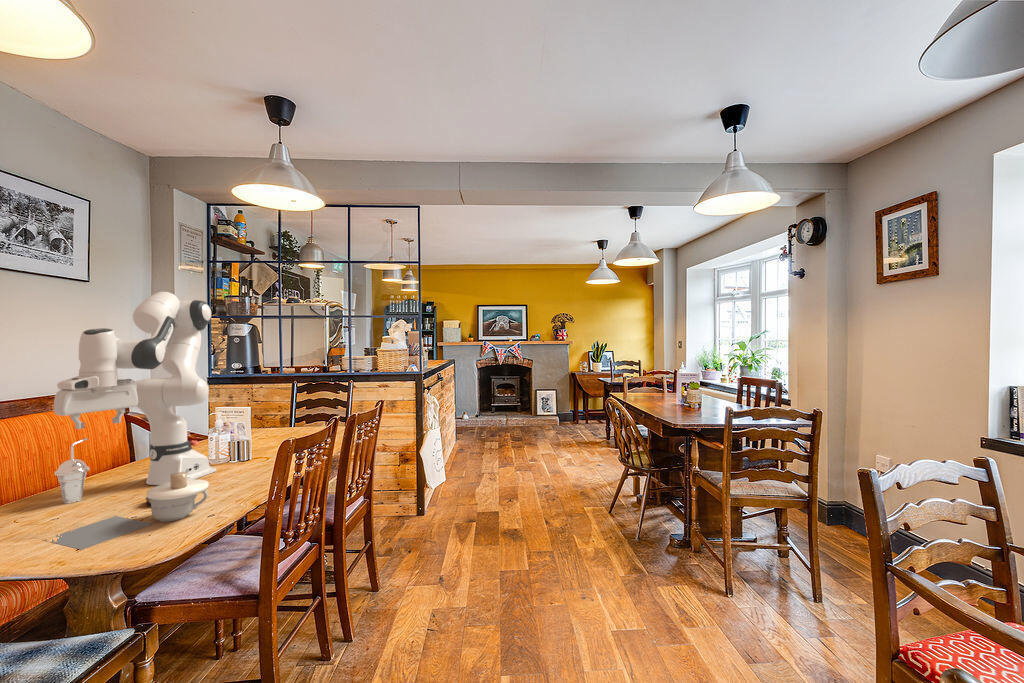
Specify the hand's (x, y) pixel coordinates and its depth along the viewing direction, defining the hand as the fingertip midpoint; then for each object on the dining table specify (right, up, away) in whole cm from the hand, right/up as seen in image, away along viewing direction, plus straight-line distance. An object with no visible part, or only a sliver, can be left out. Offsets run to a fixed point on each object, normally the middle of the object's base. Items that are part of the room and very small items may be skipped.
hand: (98, 425), depth 139 cm
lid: (+27, -19, -3) cm, 33 cm away
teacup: (+27, -27, -3) cm, 39 cm away
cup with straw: (-19, -27, +11) cm, 35 cm away
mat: (+13, -27, -14) cm, 33 cm away
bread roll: (+14, -27, +9) cm, 32 cm away
